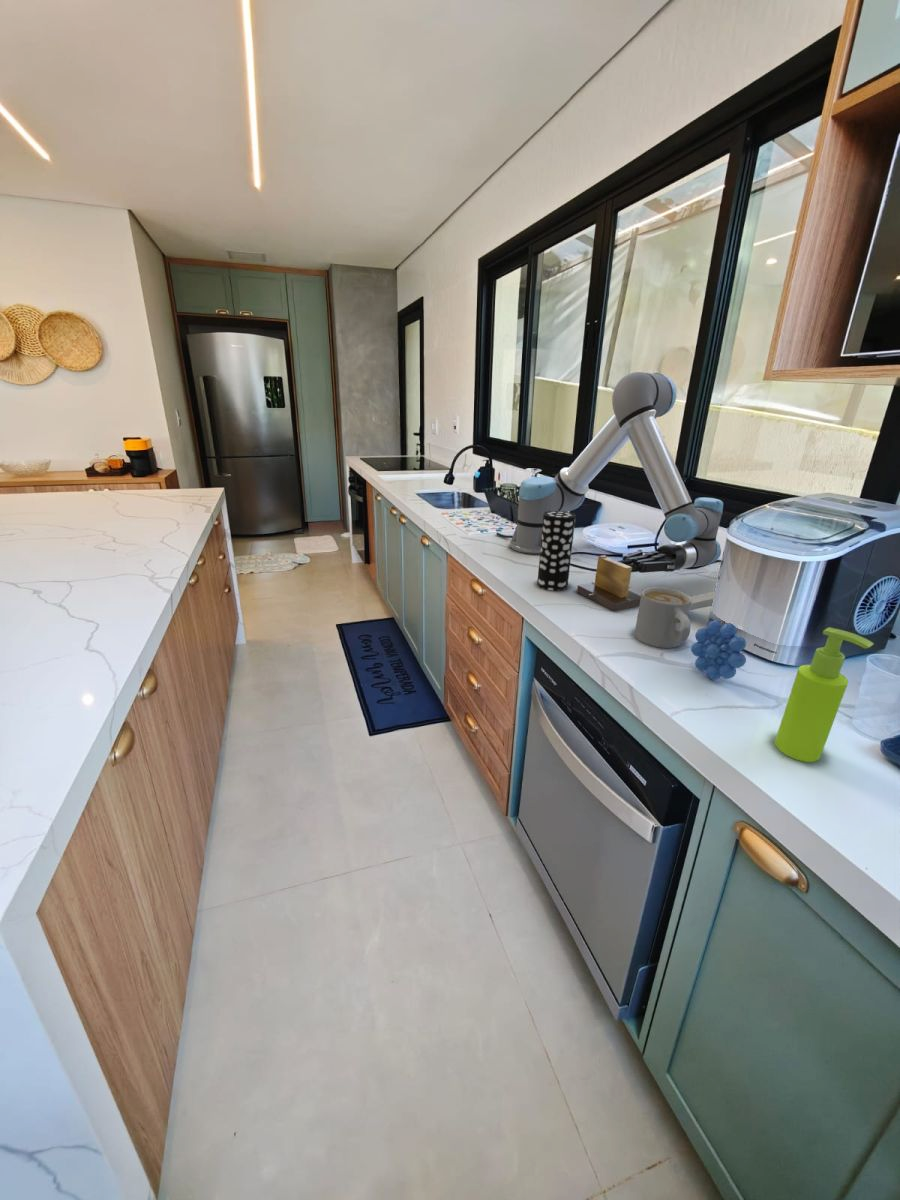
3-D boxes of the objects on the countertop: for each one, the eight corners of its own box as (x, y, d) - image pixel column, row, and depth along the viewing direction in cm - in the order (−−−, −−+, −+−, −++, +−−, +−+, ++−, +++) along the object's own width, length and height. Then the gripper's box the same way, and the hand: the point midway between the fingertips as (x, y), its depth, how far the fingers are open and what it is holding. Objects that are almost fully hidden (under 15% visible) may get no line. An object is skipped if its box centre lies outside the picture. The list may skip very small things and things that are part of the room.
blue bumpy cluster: (754, 691, 92) (771, 632, 87) (724, 696, 90) (740, 636, 85) (706, 660, 102) (720, 606, 97) (678, 665, 100) (691, 609, 95)
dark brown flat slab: (649, 603, 129) (651, 595, 128) (607, 612, 123) (608, 604, 122) (610, 585, 141) (611, 578, 140) (570, 593, 135) (571, 585, 134)
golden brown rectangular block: (627, 597, 128) (632, 566, 124) (621, 598, 127) (626, 567, 124) (600, 584, 136) (604, 554, 133) (594, 585, 135) (598, 555, 132)
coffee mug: (628, 627, 116) (635, 586, 112) (671, 628, 116) (679, 587, 112) (649, 655, 103) (658, 611, 99) (697, 656, 103) (708, 611, 100)
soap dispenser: (818, 771, 72) (865, 647, 64) (767, 745, 77) (805, 628, 70) (834, 756, 75) (880, 636, 68) (784, 732, 80) (822, 618, 73)
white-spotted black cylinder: (535, 588, 138) (541, 516, 130) (539, 578, 145) (545, 509, 137) (566, 592, 135) (574, 519, 128) (568, 582, 143) (576, 512, 135)
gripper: (691, 576, 138) (627, 589, 128) (654, 562, 149) (592, 573, 139) (696, 550, 135) (631, 561, 125) (658, 538, 146) (595, 547, 136)
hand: (611, 567), depth 132 cm, fingers closed
